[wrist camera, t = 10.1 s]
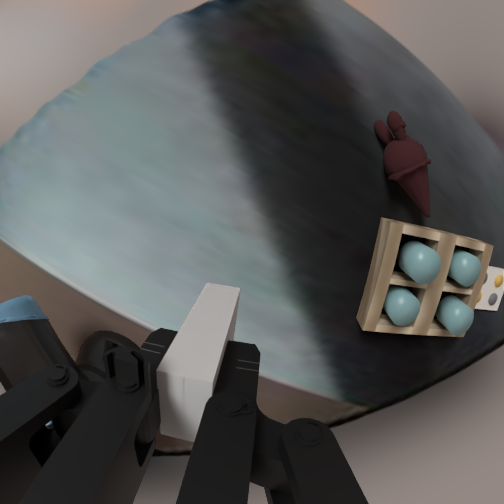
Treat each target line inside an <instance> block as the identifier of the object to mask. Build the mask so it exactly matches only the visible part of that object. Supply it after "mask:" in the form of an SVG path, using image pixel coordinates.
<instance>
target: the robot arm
mask: <svg viewBox="0 0 504 504" xmlns="http://www.w3.org/2000/svg"><path fill="white" fill-rule="evenodd" d="M239 295H240V288H237V287H231V286H225V285H219V284H213V283H207V284H206V285H205V287H204V289H203V291H202V292H201V294H200V296H199V297H198V299H197V301H196V302H195V304H194V306H193V308H192V309H191V311H190V313H189V314H188V316H187V318H186V319H185V321H184V323H183V325H182V326H181V328H180V330H179V332H177V331H173V330H168V329H163V328H160V329H158V330H156V331H154V332H152V333H151V334H150V335H149V336H148V338H147V339H146V341H145V343H143V345H142V346H141V348H139V347H138V346H137V345H135V344H134V343H133V342H132V341H130V340H129V339H127V338H126V337H124V336H122V335H120V334H117V333H114V332H110V331H98V332H95V333H93V334H92V335H90V336H89V337H88V338H87V339H86V340H85V341H84V343H83V344H82V346H81V348H80V351H79V354H78V357H77V359H76V362H74V360H73V359H72V358H71V356H70V355H69V353H68V352H67V350H66V349H65V347H64V346H63V344H62V342H61V341H60V339H59V338H58V336H57V334H56V333H55V331H54V329H53V328H52V326H51V324H50V322H49V321H48V320H49V319H48V317H47V316H45V314H44V313H43V311H42V310H41V308H40V306H39V305H38V303H37V301H36V300H35V299H34V298H33V297H31V296H27V295H25V296H20V297H16V298H13V299H11V300H8V301H6V302H3V303H1V304H0V504H133V501H134V498H135V496H136V494H137V491H138V489H139V486H140V483H141V481H142V479H143V476H144V473H145V471H146V468H147V466H148V464H149V461H150V459H151V456H152V454H153V451H154V449H155V446H156V435H155V434H156V432H157V430H158V427H159V425H160V432H161V434H163V435H167V436H171V437H175V438H179V439H183V440H187V441H192V442H194V445H193V448H192V451H191V455H190V458H189V461H188V465H187V468H186V471H185V475H184V478H183V481H182V485H181V489H180V491H179V496H178V498H177V502H176V504H247V502H248V493H249V483H250V482H252V483H254V484H257V485H259V486H262V487H264V489H265V493H266V497H267V501H268V504H368V502H367V500H366V498H365V496H364V494H363V492H362V490H361V488H360V486H359V484H358V482H357V480H356V478H355V476H354V474H353V472H352V470H351V468H350V466H349V464H348V462H347V460H346V458H345V456H344V454H343V452H342V450H341V448H340V446H339V444H338V442H337V440H336V438H335V436H334V434H333V432H332V431H331V430H330V429H329V427H328V426H326V425H325V424H323V423H322V422H320V421H317V420H314V419H310V418H299V419H295V420H292V421H290V422H289V423H288V424H286V425H285V424H282V423H280V422H277V421H274V420H272V419H270V418H268V417H267V416H265V415H264V414H263V413H262V412H261V411H260V410H259V408H258V406H257V402H256V396H257V385H258V374H259V363H260V352H259V350H258V348H257V346H256V345H255V344H249V343H243V342H236V341H233V339H234V332H235V324H236V317H237V309H238V302H239Z"/></svg>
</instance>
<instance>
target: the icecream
mask: <svg viewBox="0 0 504 504" xmlns="http://www.w3.org/2000/svg"><path fill="white" fill-rule="evenodd" d="M387 124H388V126H389V128H390V129H391V131H392V133H393V135H394V137H395V139H393V136H392V134H391V132H390V130H389V128H388V127H387V126H386V125H385V123H384V122H383V121H381V120H378V121H376V122H375V124H374V128H375V131H376V133H377V135H378V137H379V138H380V139H381V140H382V142H383V143H384V144H385V145H387V146H386V148H385V150H384V154H383V164H384V168H385V171H386V173H388V174H389V176H388V178H387V179H388V180H392V179H393V180H395V181H397V183H398V184H399V185H400V186H401V187H402V188H403V189H404V191H405V192H406V193H407V194H408V195H409V196H410V198H411V199H412V200H413V201H414V202H415V204H416V205H417V206H418V207H419V209H420V210H421V211H422V213H423V214H424V215H425V216H426V217H427V218H428V217H430V200H429V183H428V171H427V164H430V163H431V160H430V159H427V154H426V152H425V150H424V148H423V146H422V145H421V144H419V143H418V142H417V141H415V140H413V139H411V138H410V137H409V136H408V135H406V132H405V129H404V128H405V126H406V124H405V122H404V121H403V120H402V118H401V116H400V115H399V114H398V112H395V111H391V112H389V115H388V117H387Z"/></svg>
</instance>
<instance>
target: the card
mask: <svg viewBox="0 0 504 504" xmlns="http://www.w3.org/2000/svg"><path fill="white" fill-rule="evenodd" d="M503 292H504V269H501V268H497V267H492V266H488V269H487V272H486V276H485V279H484V282H483V285H482V289H481V292H480V295H479V298H478V301H477V303H476V306H475V309H484V310H494V311H497V309H498V306H499V304H500V301H501V298H502V295H503Z"/></svg>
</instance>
